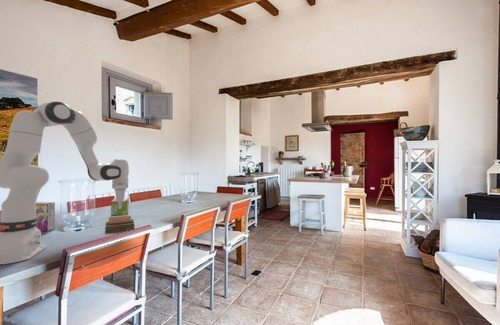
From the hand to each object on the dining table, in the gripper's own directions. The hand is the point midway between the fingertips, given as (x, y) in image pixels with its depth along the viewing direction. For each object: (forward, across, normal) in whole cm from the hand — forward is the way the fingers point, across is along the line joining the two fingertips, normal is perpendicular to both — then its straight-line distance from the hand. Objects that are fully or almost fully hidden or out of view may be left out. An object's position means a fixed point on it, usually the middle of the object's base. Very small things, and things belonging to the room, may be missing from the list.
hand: (119, 207), depth 147 cm
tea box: (+12, -21, 0) cm, 24 cm away
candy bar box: (+13, -15, -40) cm, 44 cm away
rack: (+12, +2, 0) cm, 13 cm away
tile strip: (+11, 0, 0) cm, 11 cm away
